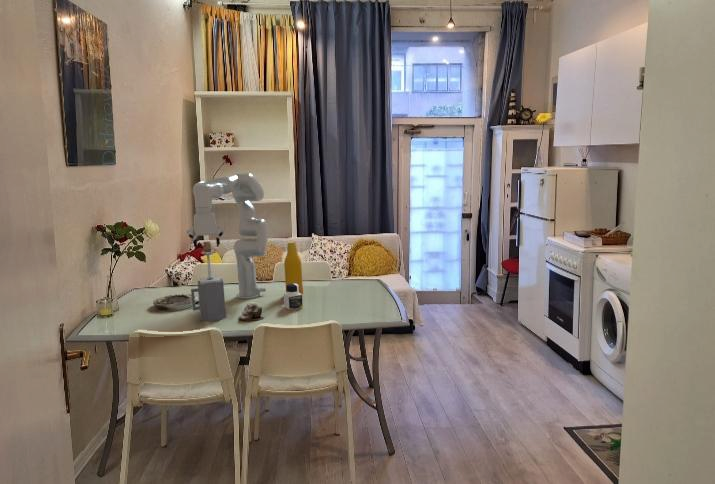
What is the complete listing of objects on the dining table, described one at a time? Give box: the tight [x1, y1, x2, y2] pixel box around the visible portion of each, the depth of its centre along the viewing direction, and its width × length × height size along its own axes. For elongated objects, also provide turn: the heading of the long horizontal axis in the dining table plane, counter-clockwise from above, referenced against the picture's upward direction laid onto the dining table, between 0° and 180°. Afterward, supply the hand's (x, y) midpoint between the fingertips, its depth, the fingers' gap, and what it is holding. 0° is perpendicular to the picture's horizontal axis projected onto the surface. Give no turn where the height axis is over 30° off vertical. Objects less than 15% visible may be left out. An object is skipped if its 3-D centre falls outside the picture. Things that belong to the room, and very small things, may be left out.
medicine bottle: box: [283, 283, 304, 311], centre depth 274 cm, size 7×7×12 cm
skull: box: [238, 301, 264, 322], centre depth 261 cm, size 12×10×10 cm
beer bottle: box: [283, 241, 304, 295], centre depth 297 cm, size 9×9×29 cm
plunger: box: [201, 241, 215, 284], centre depth 259 cm, size 8×8×23 cm
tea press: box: [190, 275, 227, 323], centre depth 261 cm, size 15×12×19 cm
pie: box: [152, 293, 200, 312], centre depth 287 cm, size 28×27×5 cm
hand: (207, 247), depth 257 cm, fingers open, 9 cm apart
